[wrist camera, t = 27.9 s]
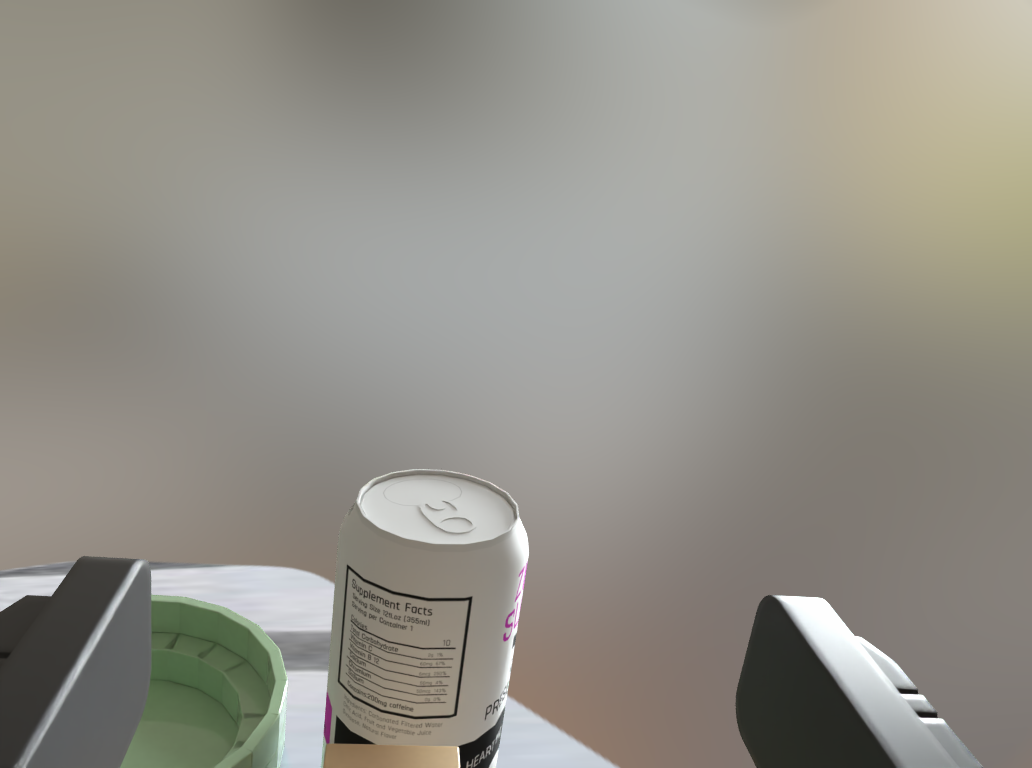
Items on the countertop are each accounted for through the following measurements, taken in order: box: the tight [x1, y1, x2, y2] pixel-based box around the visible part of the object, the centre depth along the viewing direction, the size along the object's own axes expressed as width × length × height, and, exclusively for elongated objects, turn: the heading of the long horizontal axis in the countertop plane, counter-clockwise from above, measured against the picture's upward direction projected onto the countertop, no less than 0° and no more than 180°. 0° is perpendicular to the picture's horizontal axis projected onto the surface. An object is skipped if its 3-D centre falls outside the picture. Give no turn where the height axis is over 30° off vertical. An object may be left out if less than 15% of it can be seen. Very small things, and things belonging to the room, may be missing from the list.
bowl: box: [120, 595, 288, 768], centre depth 39 cm, size 15×15×4 cm
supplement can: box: [321, 469, 529, 768], centre depth 39 cm, size 8×8×15 cm
